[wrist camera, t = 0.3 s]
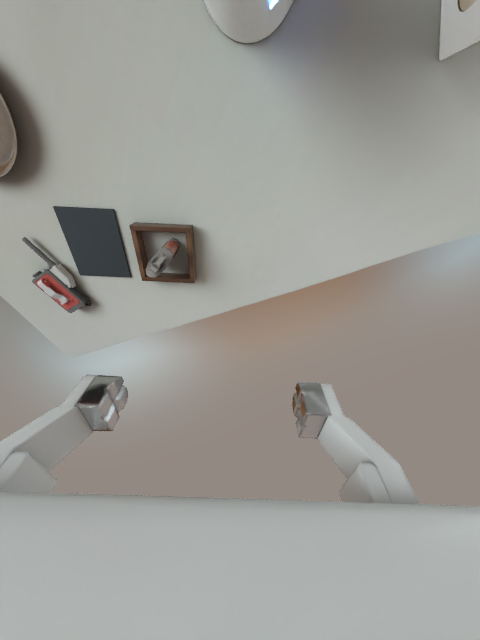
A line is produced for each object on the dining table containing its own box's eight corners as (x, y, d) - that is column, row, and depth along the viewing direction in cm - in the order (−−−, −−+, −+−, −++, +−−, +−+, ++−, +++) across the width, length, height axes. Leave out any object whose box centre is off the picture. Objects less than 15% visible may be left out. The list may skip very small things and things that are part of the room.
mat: (54, 206, 49) (53, 206, 49) (114, 209, 49) (113, 209, 49) (81, 274, 58) (80, 275, 58) (131, 276, 58) (130, 277, 58)
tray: (135, 222, 51) (129, 225, 48) (192, 225, 51) (189, 228, 48) (146, 275, 58) (142, 280, 56) (196, 278, 58) (194, 283, 56)
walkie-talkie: (99, 298, 62) (30, 233, 52) (90, 307, 59) (14, 239, 49) (78, 311, 65) (9, 252, 55) (69, 320, 61) (-7, 258, 51)
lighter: (164, 268, 57) (151, 285, 49) (153, 258, 55) (137, 275, 47) (183, 245, 53) (172, 260, 45) (171, 234, 52) (158, 248, 44)
